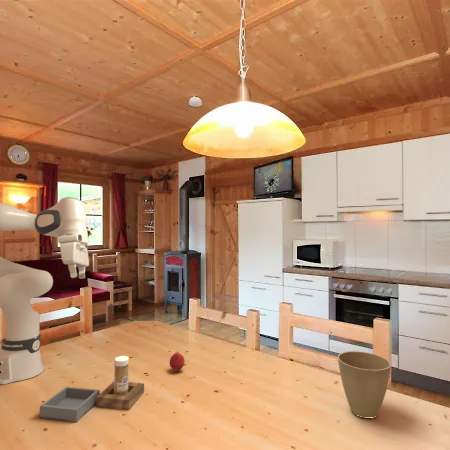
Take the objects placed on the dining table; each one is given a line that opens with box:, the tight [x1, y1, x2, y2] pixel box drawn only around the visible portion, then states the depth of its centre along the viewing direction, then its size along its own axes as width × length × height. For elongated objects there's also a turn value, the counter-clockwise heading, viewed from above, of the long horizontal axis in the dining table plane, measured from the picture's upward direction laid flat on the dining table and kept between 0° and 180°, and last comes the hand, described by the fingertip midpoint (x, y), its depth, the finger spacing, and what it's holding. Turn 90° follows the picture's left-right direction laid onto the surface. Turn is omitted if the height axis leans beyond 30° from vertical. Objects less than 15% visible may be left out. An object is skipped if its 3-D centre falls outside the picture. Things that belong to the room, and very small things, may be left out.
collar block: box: [95, 381, 145, 411], centre depth 106 cm, size 11×11×3 cm
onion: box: [169, 350, 186, 373], centre depth 127 cm, size 6×6×8 cm
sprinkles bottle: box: [113, 355, 130, 396], centre depth 106 cm, size 5×5×14 cm
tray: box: [39, 386, 101, 423], centre depth 100 cm, size 12×12×4 cm
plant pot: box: [337, 350, 392, 417], centre depth 99 cm, size 15×15×16 cm
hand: (78, 278), depth 116 cm, fingers open, 8 cm apart
